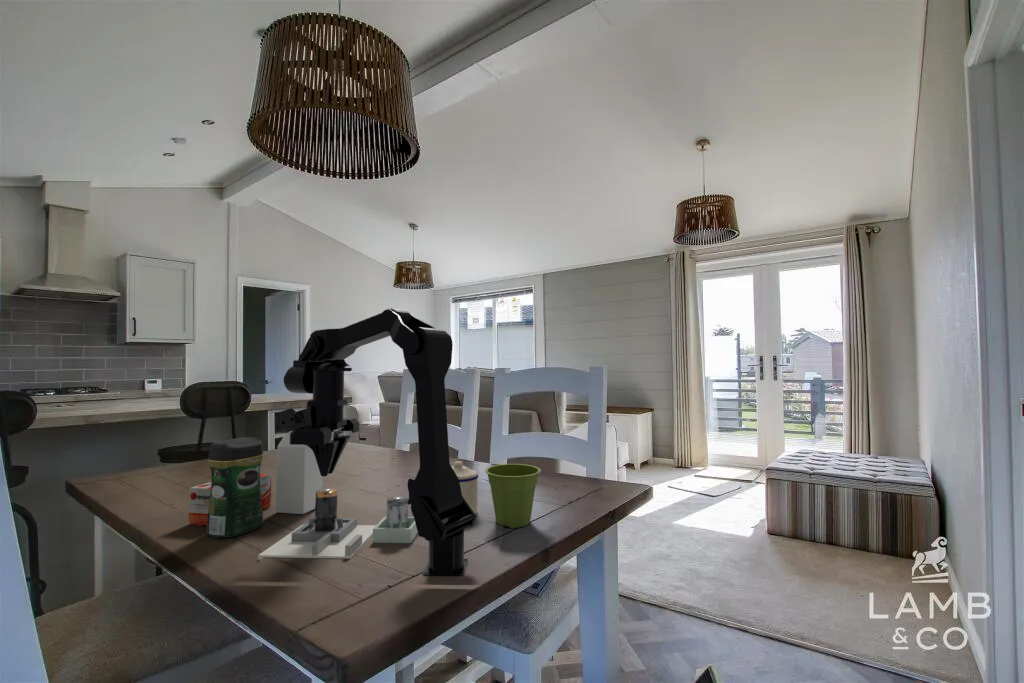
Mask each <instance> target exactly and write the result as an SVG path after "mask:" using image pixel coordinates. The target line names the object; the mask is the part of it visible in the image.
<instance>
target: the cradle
mask: <svg viewBox="0 0 1024 683" xmlns="http://www.w3.org/2000/svg"><path fill="white" fill-rule="evenodd" d="M337 518H338V519H337V527H336V528H335V529H332V530H328V531H317V530H315V516H313V517H312V516H311V517H309V518H308V522H309V528H308V529H307V530H306V531H304V532H337V531H338V530H339V529H341V528H342V527H343V526H344V525H345V524H346V523H348V522H343V518H344V517H337Z"/></svg>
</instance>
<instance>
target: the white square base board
mask: <svg viewBox="0 0 1024 683" xmlns="http://www.w3.org/2000/svg"><path fill="white" fill-rule="evenodd" d="M338 518H339V517H337V519H338ZM342 518H343V522H348V523H346V524H345V525H344V526H343V527H342V528H341V529H339V530H338V531H337V532H304V531H306V530H307V529H308V528H309V521H307V522H306V523H304V524H301V525H300V526H299V527H297V528H296V529H294V530H292V531H291V532H290V533H289V534H287V535H285V536H284V537H283V538H281V539H279V540H278V541H276V542H275V543H273V544H272V545H270V546H269V547H268V548H267V549H265V550H263V551H262V552H261V553H260V554H258V556H257V560H258V561H260V560H262V559H264V558H281V559H283V558H285V559H286V558H287V559H288V558H290V559H292V558H293V559H296V558H297V559H299V558H300V559H345V560H346V559H351V558H352V557H353V556H354V555H355V554H356V553H357V552H358V551H359V550H360V549H362V547H363V546H364V544H366V542H368V541H369V539H371V538H372V537H373V528H374V527H375V526H376V525H377V524H375V525H373V524H372V525H371V524H370V525H369V524H368V525H367V524H366V525H365V524H364V525H360V524H358V518H351V517H350V518H347V517H346V518H344V517H342Z"/></svg>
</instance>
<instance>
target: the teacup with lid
mask: <svg viewBox="0 0 1024 683" xmlns="http://www.w3.org/2000/svg"><path fill="white" fill-rule="evenodd" d="M463 464H464V463H463V461H459V460H457V461H454V462H453V465H451V467H452V469H453V470H454V472H455V473H456V475H457V477H458V478H459V482H460V487H461V492H462V496H463V498H464V499H465V501H466V502H467V503H468V505H469V506H470V508H471V509H472V510H473V512H474V513H475V515H477V513H478V478H479V474H478V472H477V471H476V470H474V469H472V468H471V469H470V468H469V467H467V466H466V465H463Z"/></svg>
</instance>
